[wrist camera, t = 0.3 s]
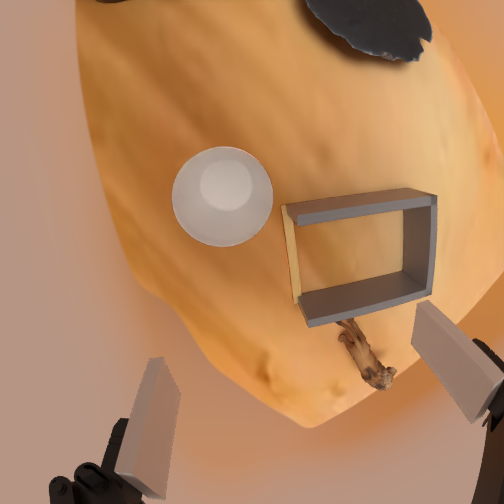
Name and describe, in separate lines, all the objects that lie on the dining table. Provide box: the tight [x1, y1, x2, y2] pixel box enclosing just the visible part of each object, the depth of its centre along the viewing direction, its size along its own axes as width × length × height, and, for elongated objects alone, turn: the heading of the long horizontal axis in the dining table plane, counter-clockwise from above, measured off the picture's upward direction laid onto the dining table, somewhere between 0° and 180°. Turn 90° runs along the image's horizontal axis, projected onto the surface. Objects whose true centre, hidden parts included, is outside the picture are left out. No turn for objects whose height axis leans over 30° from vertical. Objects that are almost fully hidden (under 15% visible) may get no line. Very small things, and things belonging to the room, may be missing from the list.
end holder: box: [281, 188, 437, 328], centre depth 35 cm, size 14×20×7 cm
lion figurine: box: [336, 318, 397, 390], centre depth 40 cm, size 15×5×9 cm, turn 44°
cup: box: [172, 146, 273, 247], centre depth 29 cm, size 9×9×12 cm
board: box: [305, 0, 433, 63], centre depth 24 cm, size 22×22×5 cm
